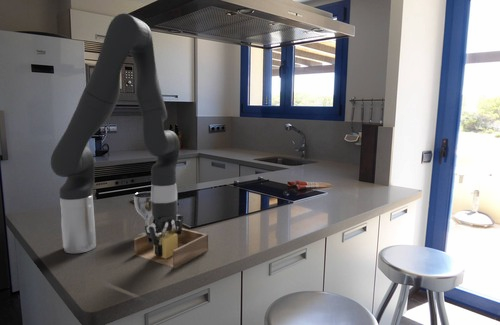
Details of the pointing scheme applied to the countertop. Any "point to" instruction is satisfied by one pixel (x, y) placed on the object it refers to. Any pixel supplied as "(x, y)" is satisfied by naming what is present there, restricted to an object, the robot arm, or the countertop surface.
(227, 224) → the countertop surface
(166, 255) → the block
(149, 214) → the wine glass
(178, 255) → the box
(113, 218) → the countertop surface
